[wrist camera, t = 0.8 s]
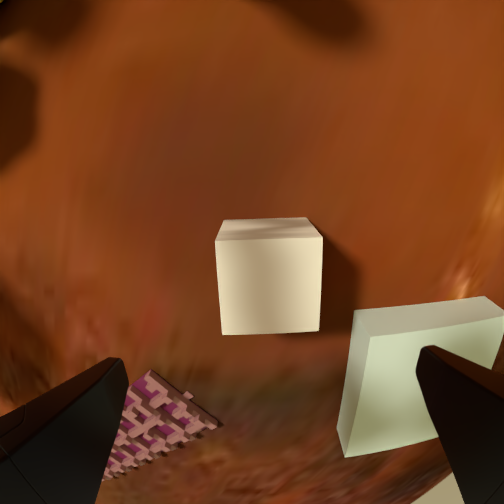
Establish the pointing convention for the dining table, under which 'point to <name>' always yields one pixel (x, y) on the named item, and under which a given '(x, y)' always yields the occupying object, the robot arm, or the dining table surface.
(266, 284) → the birch cube
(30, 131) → the dining table surface
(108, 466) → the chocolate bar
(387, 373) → the sage block
